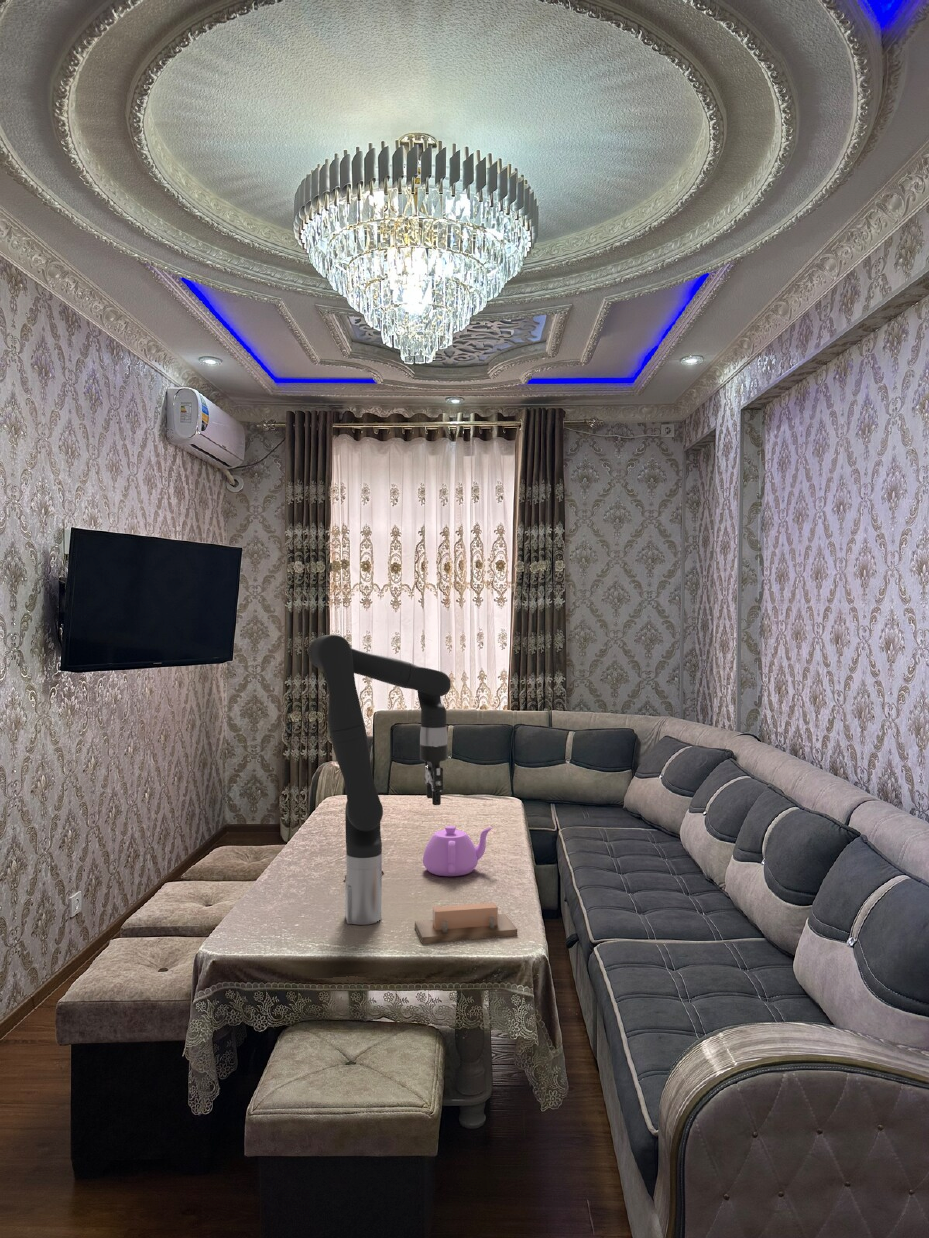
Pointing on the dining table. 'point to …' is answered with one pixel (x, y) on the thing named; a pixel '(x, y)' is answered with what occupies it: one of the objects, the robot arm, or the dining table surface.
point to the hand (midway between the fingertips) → (433, 801)
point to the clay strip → (465, 915)
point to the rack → (465, 931)
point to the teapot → (453, 852)
